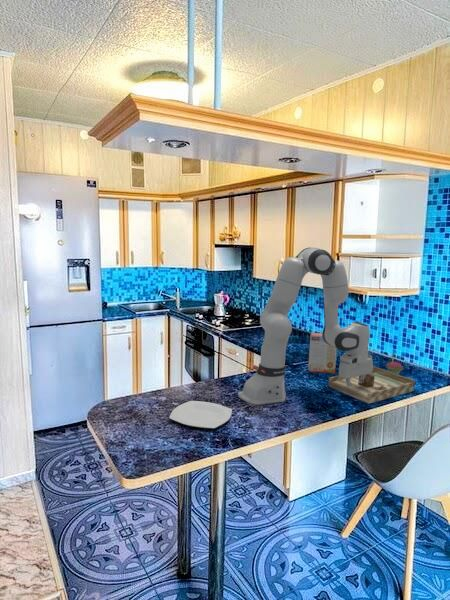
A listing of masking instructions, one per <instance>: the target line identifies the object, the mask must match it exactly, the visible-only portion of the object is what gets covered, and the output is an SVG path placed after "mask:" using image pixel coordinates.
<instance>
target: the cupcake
mask: <svg viewBox="0 0 450 600" xmlns="http://www.w3.org/2000/svg"><path fill="white" fill-rule="evenodd" d="M403 366H404V365H402V364H401V363H400V362H398V361H397V362H396V361H394V354H393V353H391V361H389V362H387V363H386V365H385V368H386V369H387V371H389V372H392V373H395V374H398V375H400V372H401V371H403V370H404V367H403Z"/></svg>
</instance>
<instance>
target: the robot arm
mask: <svg viewBox="0 0 450 600" xmlns="http://www.w3.org/2000/svg"><path fill="white" fill-rule="evenodd" d="M308 273H311V274H315V275H320V277H321V280H322V291H323V314H324V315H323V316H324V319H323V320H324V326H323V330H322V332H321V333H322V337H323V340H324V341H325V343H327V344H329V345H331V346H333V347H334V348H336V349H337V350H338V351H342V352H345V353H343V354H342V355H340V357H339V360H340V363H339V367H338V376H340V377H341V378H343V379H345V380H346V382H347V384H346V385H347V386H351V384H352V383H351V382H350V380H351V378H352V377H356V376H361V377H360V379H359V383H360V384H362V383H364V379H365V377H366V374H370V373H372V371H373V366H374V362H373V356H372V354H370V353H369V344H370V335H371V334H370V327H369V325H367V324H365V323H363V322H360V321H352V322H351V323H350V324H349V325H347V326H345V327H343V328H342V326H340V323H339V315H338V314H339V313H338V309H339V306H340V305H341V304H343V303H344V302H346V300H347V299H348V297H349V291H350V290H349V281H348V276H347V271H346V267H345V265H344V263H343V262H342V261H341V260H337V259H334V258H333V256H332V255H331V254H330V253H329V252H328V251H327V250H325V249H320V248H318V247H307V248H304V249H302V250H300V252H299V253H298V254H297V255H296V256H291V257H287V258H285V260H284V261H283V263H282V265H281V267H280V269H279V271H278V274H277V276H276V280H275V282H274V285H273V288H272V292H271V294H270V297H269V299H268V301H267V303H266V305H265V307H264V309H263V311H262V312H261V314H260V316H259V322H260V326H261V327H262V329H263V330H264V337H263V341H262V344H261V349H260V361H259V362H260V363H259V364H258V365H256V364H254V365H253V366H252V370H254V371H256V372H255V373H254V374H253V375H252V376H251V377H250V378H248V379H247V380H246V381H245V382H244V385H243V390H241V391H239V392H237V396H238V398H240V399H241V400H242V401H244V402H246V403H248V404H251V405H255V406H257V405H260V406H261V405H266V404H275V403H283V402H286V397H287V394H286V393H287V392H286V388H285V387H286V386H285V385H286V384H285V375H286V365H285V364H286V353H287V352H286V351H287V346H288V342H289V338H290V335H291V333H292V332H293V325H292V322H291V319H290V318H289V317H288V314H289V312H290V311H291V308H292V307H293V305H294V304H295V303H296V301H297V298H298V295H299V292H300V289H301V286H302V283H303V279H304V278H305V276H306V275H307V274H308Z"/></svg>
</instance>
